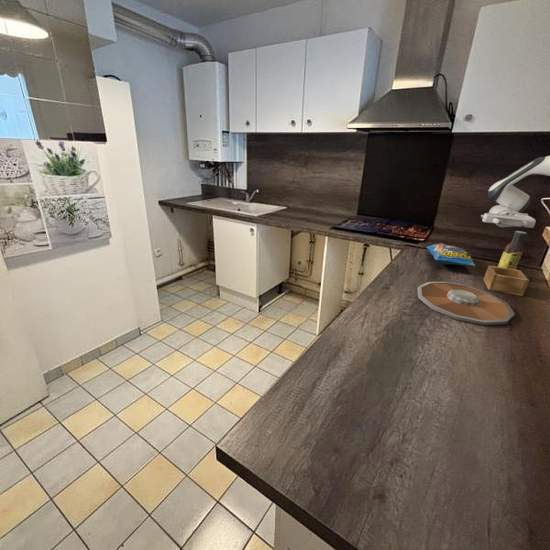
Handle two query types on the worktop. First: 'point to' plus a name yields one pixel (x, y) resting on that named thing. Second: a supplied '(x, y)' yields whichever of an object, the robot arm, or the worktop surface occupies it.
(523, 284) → the open wooden box
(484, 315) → the shield
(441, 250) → the packet
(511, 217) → the robot arm
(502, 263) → the sauce bottle
